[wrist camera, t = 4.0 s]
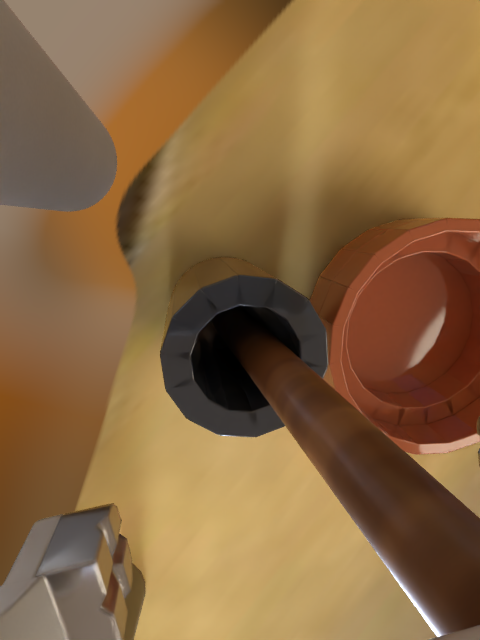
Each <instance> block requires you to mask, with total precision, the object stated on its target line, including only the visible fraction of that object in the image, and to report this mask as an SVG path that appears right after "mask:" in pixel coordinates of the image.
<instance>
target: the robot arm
mask: <svg viewBox="0 0 480 640" xmlns="http://www.w3.org/2000/svg"><path fill="white" fill-rule="evenodd" d="M477 434H478V435H479V436H480V416H479V418H478V421H477ZM478 459H479V467H480V449H479V451H478ZM121 522H122V520H121V517H120V514H119V511H118V508H117V506H116V505H115V504H114V503H111V504H107V505H102V506H98V507H93V508H89V509H84V510H79V511H75V512H70V513H66V514H64V515H63V514H60V515H57V516H52V517H49V518H44V519H41V520H39V521H37V522H36V523H35V524H34V525H33V527H32V529H31V531H30V532H29V534H28V537H27V539H26V541H25V542H24V544H23V546H22V548H21V551H20V552H19V554H18V556H17V558H16V560H15V562H14V564H13V566H12V568H11V570H10V572H9V574H8V576H7V578H6V580H5V582H4V584H3V586H0V640H124V635H125V628H126V621H127V615H128V610H127V607H126V603H125V600H124V599H125V598H126V596H127V595H128V594H129V593H130V591H131V586H132V578H133V576H132V558H131V552H130V547H129V544H128V540H127V539H126V538H125V537H124V536H122V535H121V534H119V532H120V527H121ZM429 640H480V625H477V626H474V627H471V628H467V629H464V630H460V631H457V632H453V633H450V634H446V635H443V636H439V637H436V638H432V639H429Z"/></svg>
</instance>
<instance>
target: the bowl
mask: <svg viewBox="0 0 480 640" xmlns="http://www.w3.org/2000/svg"><path fill="white" fill-rule="evenodd" d="M310 302H311V304H312V305H313V307H314V309H315V310H316V312H317V314H318V316H319V317H320V319H321V321H322V323H323V324H324V326H325V328H326V331H327V344H328V362H329V365H328V368H327V371H326V373H325V376H324V378H323V380H325V381H326V382H327V383H328V384H329V385H330V386H331V387H332V388H334V389H335V390H336V391H337V392H338V393H339V394H340V395H341V396H343V397H344V398H345V399H346V400H347V401H348V402H349V403H350V404H352V405H353V406H354V407H355V408H356V409H357V410H358V411H359V412H361V413H362V414H363V415H364V416H365V417H366V418H367V419H368V420H370V421H371V422H372V423H373V424H374V425H375V426H376V427H377V428H379V429H380V430H381V431H382V432H383V433H384V434H385V435H386V436H388V437H389V438H390V439H391V440H392V441H393V442H394V443H395V444H397V445H398V446H399V447H400V448H401V449H402V450H403V451H404V452H408V453H411V454H437V453H448V452H452V451H455V450H458V449H461V448H463V447H466V446H469V445H472V444H475V443H478V442H480V436H479V435H478V434H477V421H478V418H479V416H480V219H463V218H424V219H423V218H421V219H399V220H396V221H393V222H390V223H386V224H383V225H380V226H377V227H373V228H370V229H368V230H367V231H365V232H364V233H363V234H361V235H360V236H358V237H357V238H355V239H354V240H353V241H351V242H350V243H348V244H347V245H345V246H344V247H343V248H342V249H340V250H339V252H338V253H337V254H336V255H335V257H334V258H333V259H332V261H331V262H330V263H329V264H328V266H327V267H326V268H325V269H324V271H323V272H322V273H321V275H320V277H319V278H318V281H317V283H316V286H315V288H314V291H313V294H312V296H311V299H310Z"/></svg>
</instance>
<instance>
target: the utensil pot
mask: <svg viewBox="0 0 480 640" xmlns="http://www.w3.org/2000/svg"><path fill="white" fill-rule="evenodd" d="M238 306H241V307H243V308H244V309H245V310H246V311H247V312H248V313H249V314H250V315H251V316H253V317H254V318H255V319H256V320H257V321H258V322H259V323H260V324H262V325H263V326H264V327H265V328H266V329H267V330H268V331H269V332H271V333H272V334H273V335H274V336H275V337H276V338H277V339H278V340H280V341H281V342H282V343H283V344H284V345H285V346H286V347H287V348H289V349H290V350H291V351H292V352H293V353H294V354H295V355H296V356H298V357H299V358H300V359H301V360H302V361H303V362H304V363H305V364H307V365H308V366H309V367H310V368H311V369H312V370H313V371H314V372H316V373H317V374H318V375H319V376H320V377H321V378H322V379H323V378H324V376H325V373H326V371H327V368H328V365H329V362H328V344H327V331H326V328H325V326H324V324H323V323H322V321H321V319H320V317H319V316H318V314H317V312H316V310H315V309H314V307H313V305H312V304H311V302H310V300H309V299H308V298H307V297H305V296H304V295H302V294H300V293H299V292H297V291H296V290H294V289H293V288H291V287H290V286H288V285H286V284H285V283H283V282H282V281H280V280H279V279H277V278H275V277H273V276H272V275H270V274H268V273H267V272H265V271H263V270H261V269H260V268H258V267H256V266H254V265H253V264H251V263H249V262H247V261H246V260H243V259H237V258H232V257H215V258H210V259H207V260H204V261H202V262H199V263H198V264H196V265H194V266H193V267H191V268H190V269H189V270H187V271H186V272H185V273H184V274H183V275H182V277H181V278H180V279H179V281H178V282H177V283H176V285H175V287H174V290H173V292H172V295H171V299H170V303H169V306H168V309H167V315H166V321H165V327H164V333H163V339H162V344H161V350H160V358H161V365H162V371H163V378H164V384H165V389H166V392H167V393H168V394H169V396H170V397H171V398H172V400H173V401H174V402H175V404H176V405H177V407H178V408H179V409H180V411H181V412H182V413H183V415H184V416H185V417H186V419H189V420H190V421H192V422H194V423H196V424H198V425H200V426H202V427H204V428H206V429H208V430H210V431H211V432H213V433H215V434H217V435H220V436H238V437H258V436H260V435H263V434H266V433H268V432H271V431H274V430H276V429H279V428H281V427H284V426H285V425H284V423H283V422H282V420H281V419H280V418H279V416H278V415H277V413H276V412H275V411H274V409H273V408H272V407H271V405H270V404H269V402H268V401H267V400H266V398H265V397H264V395H263V394H262V393H261V391H260V390H259V388H258V387H257V386H256V384H255V383H254V381H253V380H252V379H251V377H250V376H249V375H248V373H247V372H246V370H245V369H244V368H243V366H242V365H241V363H240V362H239V361H238V359H237V358H236V356H235V355H234V354H233V352H232V351H231V350H230V348H229V347H228V345H227V344H226V343H225V341H224V340H223V338H222V337H221V336H220V334H219V333H218V331H217V330H216V329H215V327H214V325H213V322H212V319H213V318H214V317H215V316H216V315H217V314H219V313H221V312H224V311H227V310H230V309H232V308H235V307H238Z"/></svg>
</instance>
